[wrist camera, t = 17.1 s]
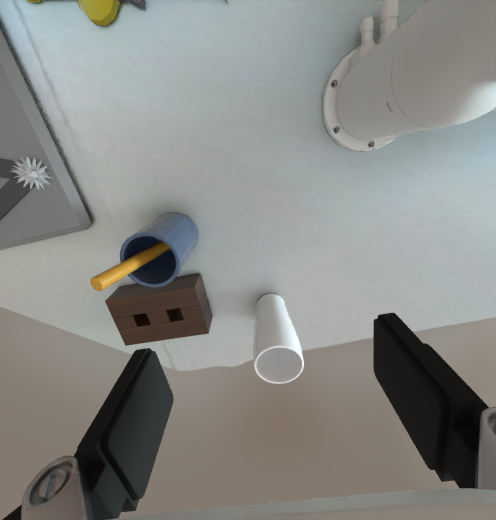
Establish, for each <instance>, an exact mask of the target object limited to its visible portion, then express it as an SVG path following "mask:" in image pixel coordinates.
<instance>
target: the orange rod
mask: <svg viewBox="0 0 496 520" xmlns="http://www.w3.org/2000/svg"><path fill="white" fill-rule="evenodd" d="M169 249H171V248H170V247H169V246H168V245H167V244H166V243H165V242H163V241H161V242H159V243H157V244H155V245H153V246H152V247H150V248H148V249H146V250H144V251H142V252H140V253H138V254H136V255H135V256H133V257H131V258H129V259H127V260H125V261H123V262H121V263H120V264H118V265H116V266H114V267H112V268H110V269H108V270H106V271H105V272H103V273H101V274H99V275H97V276H95V277H93V278H92V279H91V285H92V287H93V288H94V289H95V290H97V291H101V290H103V289H105V288H106V287H108V286H110V285H111V284H113V283H115V282H116V281H118V280H120V279H121V278H123V277H125V276H126V275H128V274H130V273H131V272H133V271H134V270H136V269H138V268H139V267H141V266H143V265H144V264H146V263H148V262H149V261H151V260H153V259H154V258H156V257H158V256H159V255H161V254H163V253H164V252H166V251H168V250H169Z"/></svg>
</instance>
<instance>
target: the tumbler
mask: <svg viewBox="0 0 496 520" xmlns="http://www.w3.org/2000/svg"><path fill="white" fill-rule="evenodd" d="M197 240H198V232H197V228H196V226H195V224H194V223H193V221H192V220H191V219H190V218H189V217H187V216H186V215H184V214H181V213H177V212H171V213H166V214H164V215H162V216H161V217H159V218H158V219H156V220H155V221H153V222H152V223H150V224H149V225H147V226H146V227H144V228H142V229H141V230H139V231H138V232H136V233H135V234H133V235H132V236H130V237H129V238H128V239H127V240H126V241H125V242H124V243H123V245H122V248H121V251H120V262H123V261H125V260H127V259H129V258H131V257H133V256H135V255H136V254H138V253H140V252H142V251H144V250H146V249H148V248H150V247H152V246H153V245H155V244H157V243H159V242H161V241H163V242H165V243H166V244H167V245H168V246H169V247H170V248H171V249H169V250H168V251H166V252H164V253H163V254H161V255H159V256H158V257H156V258H154V259H153V260H151V261H149V262H148V263H146V264H144V265H143V266H141V267H139V268H138V269H136V270H134V271H133V272H131V273H130V274H128V276H129V277H130V278H131V279H132V280H134V281H135V282H137V283H138V284H141V285H143V286H146V287H161V286H165V285H167V284H168V283H170V282H172V281H173V279H174V278H175V277H176V276H177V274H178V273H179V271H180V270H181V268H182V266H183V265H184V263H185V262H186V260H187V258H188V257H189V255H190V253H191V252H192V250H193V249H194V247H195V245H196V243H197Z"/></svg>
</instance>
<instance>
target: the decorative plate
mask: <svg viewBox="0 0 496 520" xmlns="http://www.w3.org/2000/svg"><path fill="white" fill-rule="evenodd" d="M90 224H91V220H90V217H89V215H88V213H87V211H86V209H85V207H84V205H83V203H82V200H81V198H80V196H79V194H78V192H77V190H76V188H75V186H74V184H73V181H72V179H71V177H70V175H69V173H68V171H67V169H66V167H65V164H64V162H63V160H62V158H61V156H60V154H59V152H58V150H57V148H56V145H55V143H54V141H53V139H52V137H51V135H50V133H49V131H48V128H47V126H46V124H45V122H44V120H43V118H42V116H41V114H40V111H39V109H38V107H37V105H36V103H35V101H34V99H33V97H32V95H31V92H30V90H29V88H28V86H27V84H26V82H25V80H24V78H23V75H22V73H21V71H20V69H19V67H18V65H17V63H16V61H15V59H14V56H13V54H12V52H11V50H10V48H9V46H8V44H7V42H6V39H5V37H4V35H3V33H2V31H1V29H0V250H2V249H7V248H11V247H15V246H19V245H23V244H27V243H32V242H36V241H40V240H44V239H48V238H53V237H57V236H61V235H65V234H69V233H74V232H78V231H82V230H86V229H88V228H89V226H90Z"/></svg>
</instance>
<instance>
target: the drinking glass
mask: <svg viewBox="0 0 496 520" xmlns="http://www.w3.org/2000/svg"><path fill="white" fill-rule="evenodd" d="M256 309H257V313H256V323H255V333H254V344H253V355H254V367H255V371H256V373H257V374H258V376H259V377H260V378H262V379H263V380H265V381H267V382H270V383H275V384H282V383H287V382H290V381H292V380H294V379H295V378H297V377H298V376H299V375H300V374H301V372H302V370H303V367H304V360H303V355H302V350H301V346H300V343H299V339H298V337H297V334H296V331H295V329H294V327H293V324H292V322H291V319H290V317H289V314H288V312H287V309H286V306H285V302H284V300H283V299H282V298H281V297H280V296H278V295H276V294H266V295H264V296H262V297H261V298H260V299H259V300H258V302H257V307H256Z"/></svg>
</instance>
